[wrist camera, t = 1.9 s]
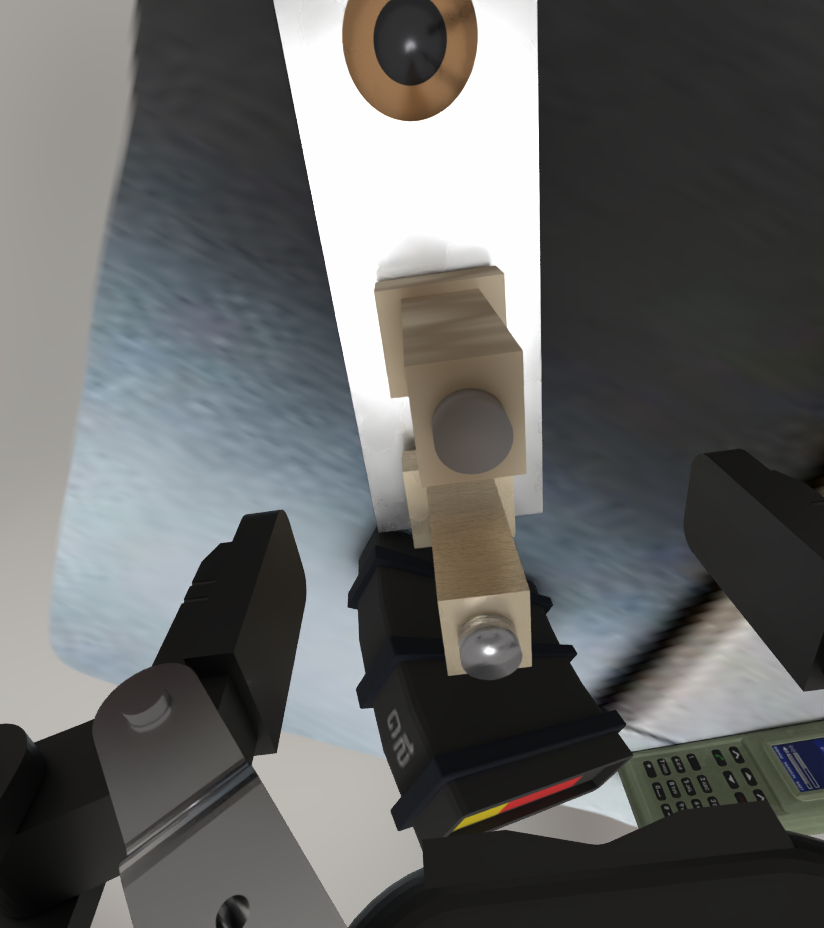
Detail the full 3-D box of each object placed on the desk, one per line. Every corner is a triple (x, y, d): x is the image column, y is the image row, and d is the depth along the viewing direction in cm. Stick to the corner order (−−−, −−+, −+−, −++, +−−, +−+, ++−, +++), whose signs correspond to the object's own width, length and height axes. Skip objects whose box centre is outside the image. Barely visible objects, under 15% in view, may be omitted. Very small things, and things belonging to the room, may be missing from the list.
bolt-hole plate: (525, -259, 16) (823, -1245, 5) (537, 500, 30) (625, 703, 18) (237, -208, 17) (-99, -1017, 5) (379, 520, 30) (369, 731, 19)
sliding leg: (493, 263, 22) (575, 341, 12) (498, 363, 24) (571, 500, 14) (375, 280, 22) (360, 369, 12) (391, 378, 25) (388, 522, 14)
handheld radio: (613, 747, 42) (952, 690, 39) (615, 770, 43) (940, 716, 41) (649, 843, 36) (1048, 783, 34) (649, 865, 38) (1029, 809, 35)
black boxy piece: (323, 514, 28) (459, 813, 18) (499, 528, 36) (665, 741, 25) (299, 565, 30) (410, 867, 19) (472, 567, 37) (617, 783, 27)
